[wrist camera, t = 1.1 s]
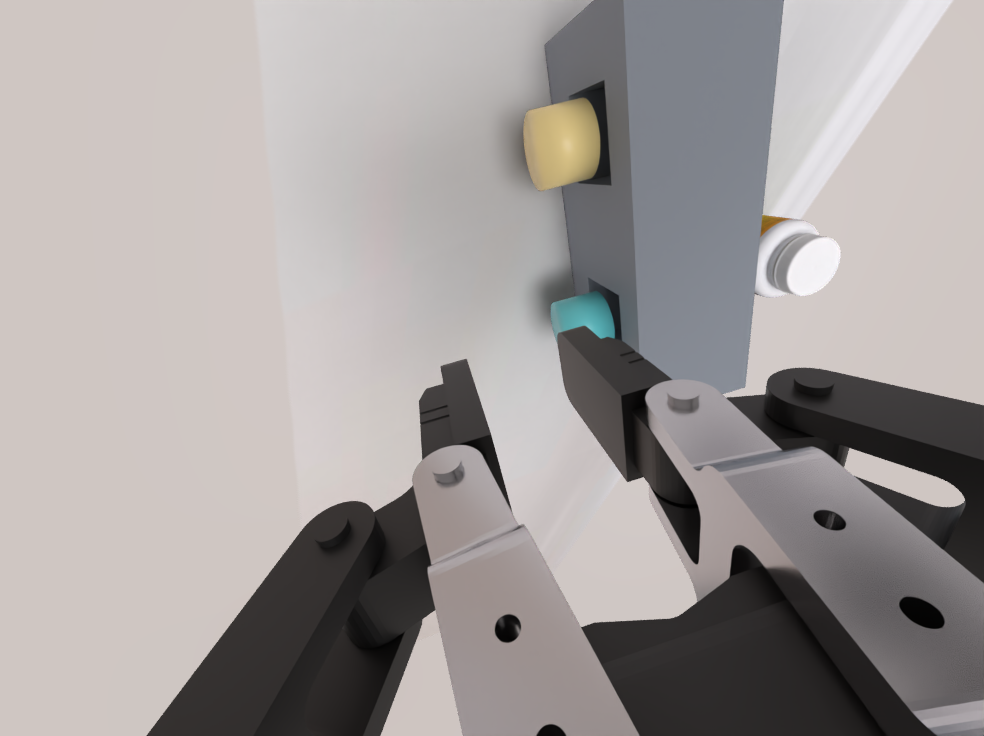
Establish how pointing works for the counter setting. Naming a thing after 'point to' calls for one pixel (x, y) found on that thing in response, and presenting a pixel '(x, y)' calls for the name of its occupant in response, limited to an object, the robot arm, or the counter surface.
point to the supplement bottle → (793, 258)
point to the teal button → (583, 314)
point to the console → (673, 172)
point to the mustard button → (561, 143)
